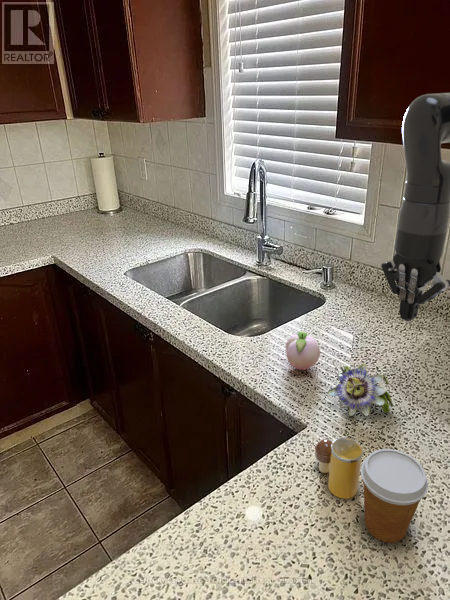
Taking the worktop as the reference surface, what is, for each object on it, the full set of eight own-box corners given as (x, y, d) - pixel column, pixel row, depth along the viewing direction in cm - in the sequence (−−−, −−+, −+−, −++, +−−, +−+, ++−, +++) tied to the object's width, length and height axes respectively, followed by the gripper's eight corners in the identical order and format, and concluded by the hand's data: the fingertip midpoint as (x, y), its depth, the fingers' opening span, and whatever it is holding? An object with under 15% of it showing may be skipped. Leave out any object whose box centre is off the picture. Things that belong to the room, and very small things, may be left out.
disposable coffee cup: (352, 496, 77) (358, 443, 71) (410, 503, 75) (421, 449, 70) (357, 548, 68) (365, 492, 63) (423, 557, 67) (437, 500, 61)
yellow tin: (362, 483, 79) (367, 445, 75) (351, 504, 75) (356, 465, 71) (334, 471, 82) (338, 433, 78) (322, 490, 78) (325, 451, 74)
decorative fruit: (321, 379, 107) (323, 343, 103) (286, 379, 107) (287, 343, 103) (316, 357, 115) (318, 324, 111) (284, 357, 116) (285, 323, 112)
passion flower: (350, 433, 98) (319, 396, 94) (357, 397, 106) (329, 361, 102) (398, 425, 91) (367, 384, 87) (402, 386, 99) (374, 348, 95)
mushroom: (337, 465, 83) (340, 438, 80) (331, 480, 80) (334, 452, 77) (317, 458, 85) (319, 431, 82) (311, 472, 82) (312, 445, 79)
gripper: (474, 231, 70) (453, 327, 78) (403, 214, 80) (391, 300, 88) (444, 240, 67) (425, 340, 74) (374, 221, 77) (364, 311, 84)
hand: (407, 318), depth 81 cm, fingers closed
